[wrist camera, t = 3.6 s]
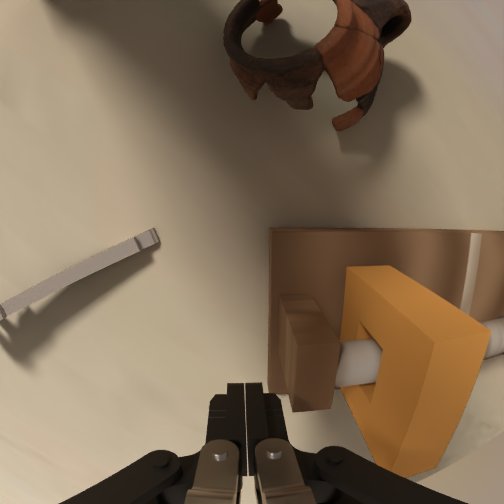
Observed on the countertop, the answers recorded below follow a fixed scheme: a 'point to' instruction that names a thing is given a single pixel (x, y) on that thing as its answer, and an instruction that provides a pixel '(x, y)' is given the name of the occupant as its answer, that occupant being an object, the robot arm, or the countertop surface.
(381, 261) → the pipe stand
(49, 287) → the caliper
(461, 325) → the collar
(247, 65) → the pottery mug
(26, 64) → the countertop surface
